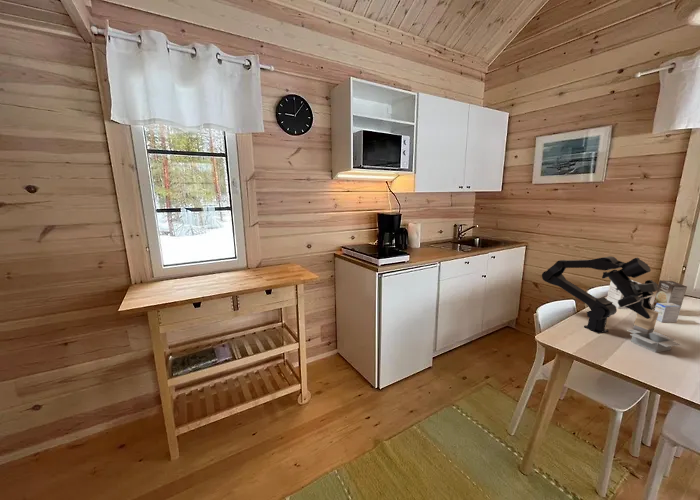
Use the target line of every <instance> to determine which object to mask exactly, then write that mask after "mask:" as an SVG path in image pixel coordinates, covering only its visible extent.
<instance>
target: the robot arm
mask: <svg viewBox="0 0 700 500" xmlns="http://www.w3.org/2000/svg"><path fill="white" fill-rule="evenodd" d="M577 268H578V269H579V268H581V269H594V270H598V271H603V272H602V276H601V279H607V278H609V280H610V282H611V281H612V282H613V284H614V285H615V286H616V287H617V288H616V290H617V291H618V290H619V291H620V292H621V293H622V295H623V296H624V297H622V298H623V299H620V300H618V304H619V306H620V307H623V306H625V307H626V308H629V310H631V311H632V312H635V313H636V314H637V313H638V314H640V315H641V316H643V317H645V318H647V319H649V318H650V316H649V314H648V313H647V311H646V309H645V308H647V309H650V310H653V311H654V308H653V306H652V305H651V299H652V297H653V295H655V294H654V292H657V290H658V284H659V283H657V282H656V281H653V280H652V279H646V280H645V282H643V283H641V284H638V283H637V282H638V281H636V282H635V280H633V279H636V278H638V277H641V276H643V275H645V274H648V273H650V272H651V271H652V270H651V269H652V268H651V267H650V266H649V264H648V263H646V262H645V261H643V260H642V259H640V258H639V257H635V258H632V259H631V260H629V261H626V262H624V261H621V260H618V259H617V258H616V257H614V256H605V257H598V258H592V259H560V260H558V261H556V262H555V263H554V264H553V265H551V266H550V267H549V268H548V269H547V270H545V271H543V272H542V274H541V278H542V281H544V282H546V283H548V284H550V285H553V286H557V287H559V288H561V289H562V290H564V291H566V292H567V293H568V294H570V295H571V296H573V297H575V298H576V299H578V300H580V301H581V302H583V303H584V304H585V305H586V306H588V308H589V310H588V311H586V317H588V323H587V324H586V325H583V327H584V328H585V329H587V330H589V331H592V332H594V333H596V334H602V333H608V332H609V330H608V329H606V326H607V325H606V324H607V319H608V318H610V317H611V316H614V315H615V314H617V311H618V310H617V309H618V308H617V307H616V306H615V305H614V304H612V303H613V302H610V301H608V300H607V297H604V296H602V297H599V298H598V297H595V296H593V295H592V294H590V293H589V292H587V291H585V290H584V289H582V288H580V287H579V286H578V285H576V284H574V283H573V282H571V281H569V280H567V279H566V277H565V276H564V275H563V274H564V272H565V271H566V269H577ZM618 269H619V270H618ZM608 270H609V272H608ZM631 278H633V279H631ZM632 280H633V282H632ZM626 305H627V306H626Z"/></svg>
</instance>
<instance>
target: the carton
mask: <svg viewBox="0 0 700 500" xmlns="http://www.w3.org/2000/svg"><path fill="white" fill-rule="evenodd" d="M626 331H627V332H630V334H629V336H631V340H630V342H631V343H633V344H635V345H638V346H640V347H642V348H645V349H646V350H649V351H652V352H654V353H659V352H666V351H670V350H672V347H675V346H681V344H680V343H677V342H676V339H675V338H672V337H671V336H670V337H669V336H667V335H665V334H662V333H659V332H657V331H655V330H653V332H652V333H649V334H644V333H642V332H639V331H637V330H634V329H633V328H632V329H627V330H626Z"/></svg>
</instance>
